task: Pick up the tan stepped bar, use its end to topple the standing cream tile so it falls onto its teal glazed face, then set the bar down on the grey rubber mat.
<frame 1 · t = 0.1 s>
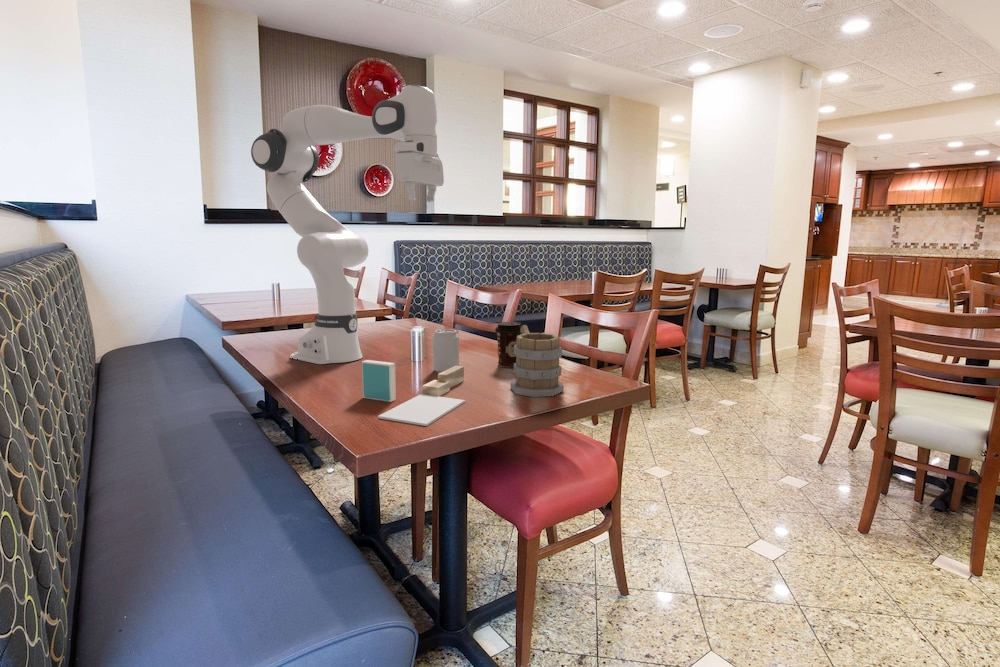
hand: (421, 200, 153), 48 cm above the table, fingers open, 8 cm apart
tile: (378, 380, 132), point 4 cm above the table
tankard: (533, 386, 145), on the table
coffee cup: (509, 366, 166), on the table
can: (446, 371, 159), on the table
tan stepped bar: (445, 387, 142), on the table
mat: (423, 409, 124), on the table
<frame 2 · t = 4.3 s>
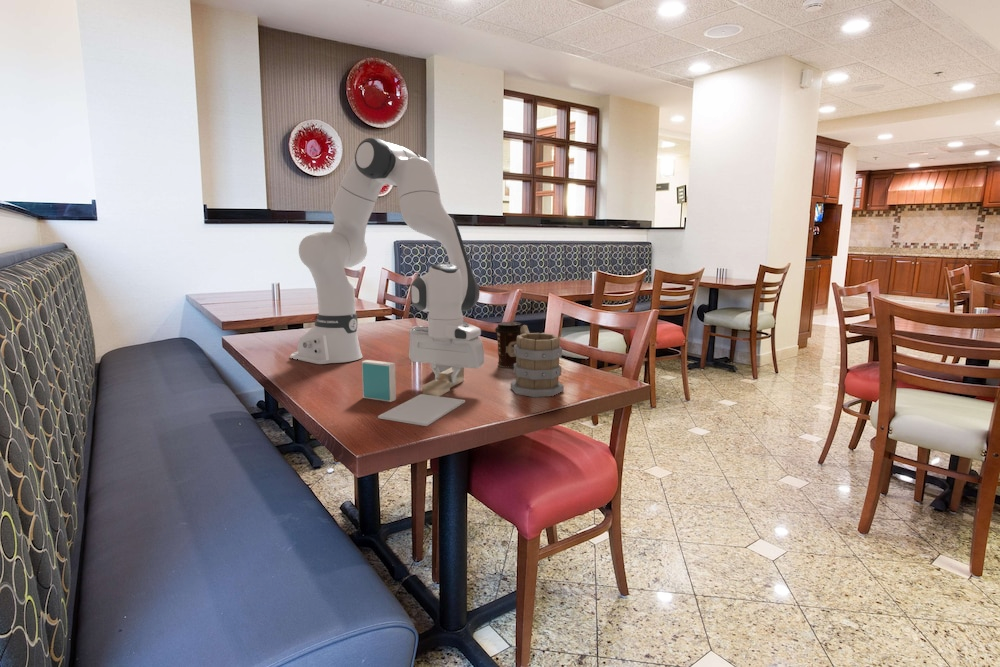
hand: (445, 381, 142), 2 cm above the table, fingers closed on tan stepped bar, 2 cm apart
tan stepped bar: (445, 387, 142), on the table, touching gripper
everything else where it was.
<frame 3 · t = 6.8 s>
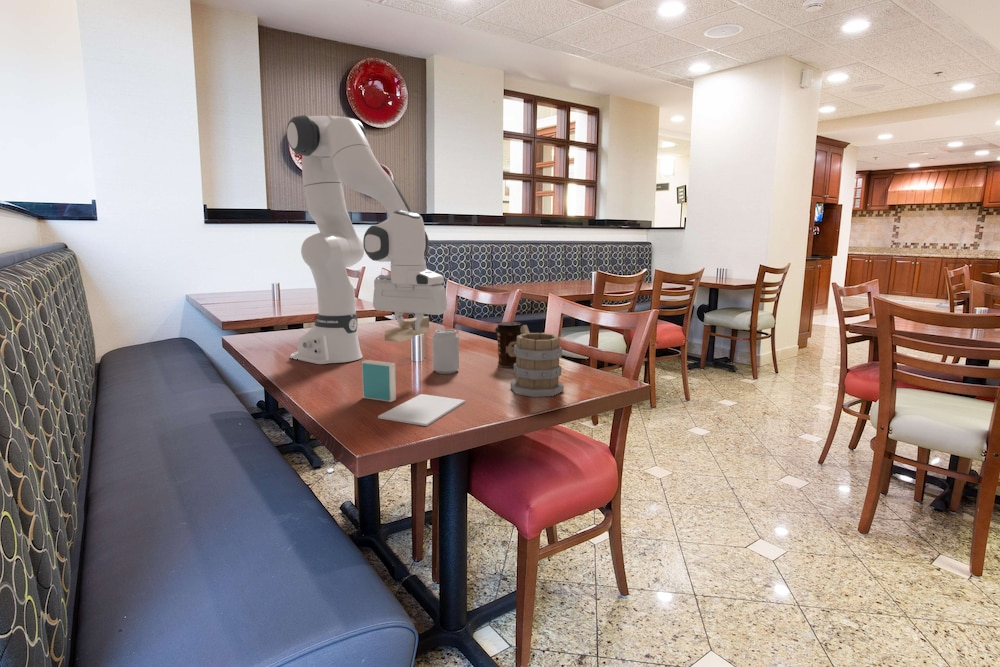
hand: (409, 329, 142), 15 cm above the table, fingers closed on tan stepped bar, 2 cm apart
tan stepped bar: (409, 335, 143), point 13 cm above the table, touching gripper
everything else where it was.
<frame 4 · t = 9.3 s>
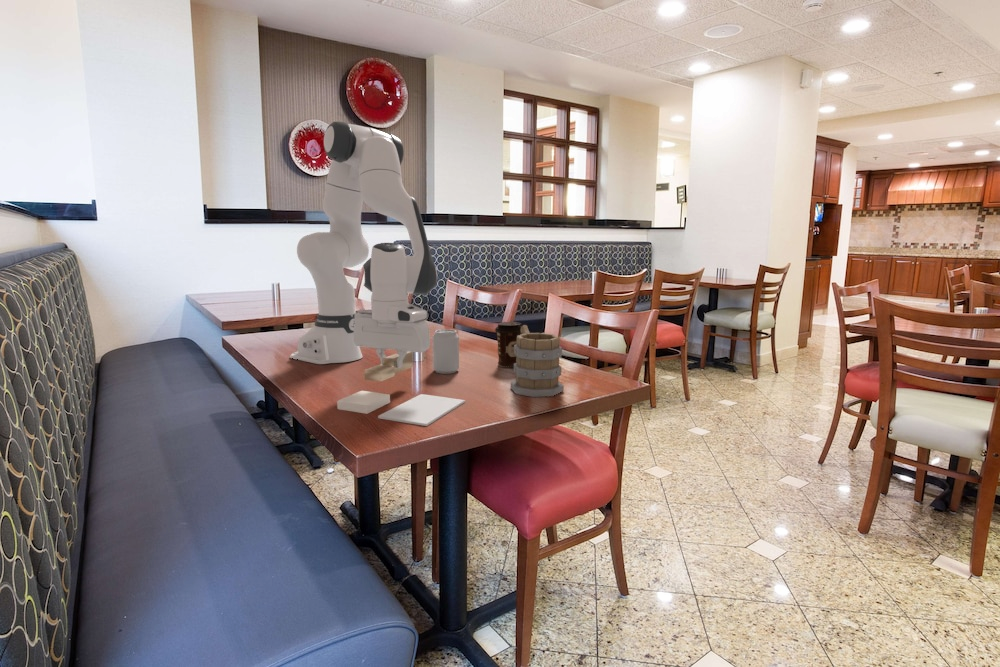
hand: (391, 366, 136), 7 cm above the table, fingers closed on tan stepped bar, 2 cm apart
tile: (364, 401, 127), point 1 cm above the table, tilted 90°
tan stepped bar: (391, 372, 136), point 5 cm above the table, touching gripper
everything else where it was.
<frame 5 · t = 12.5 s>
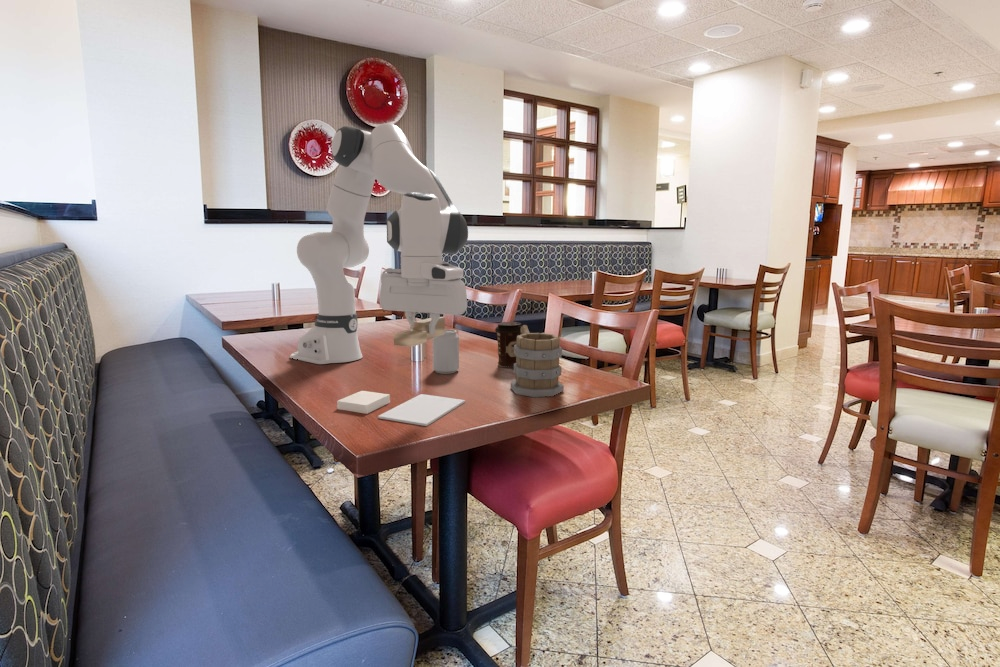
hand: (422, 332, 121), 18 cm above the table, fingers closed on tan stepped bar, 2 cm apart
tan stepped bar: (422, 339, 121), point 16 cm above the table, touching gripper
everything else where it was.
when the fingers open (3 cm above the table, at t = 15.2 s): tan stepped bar drops 1 cm, resting on mat.
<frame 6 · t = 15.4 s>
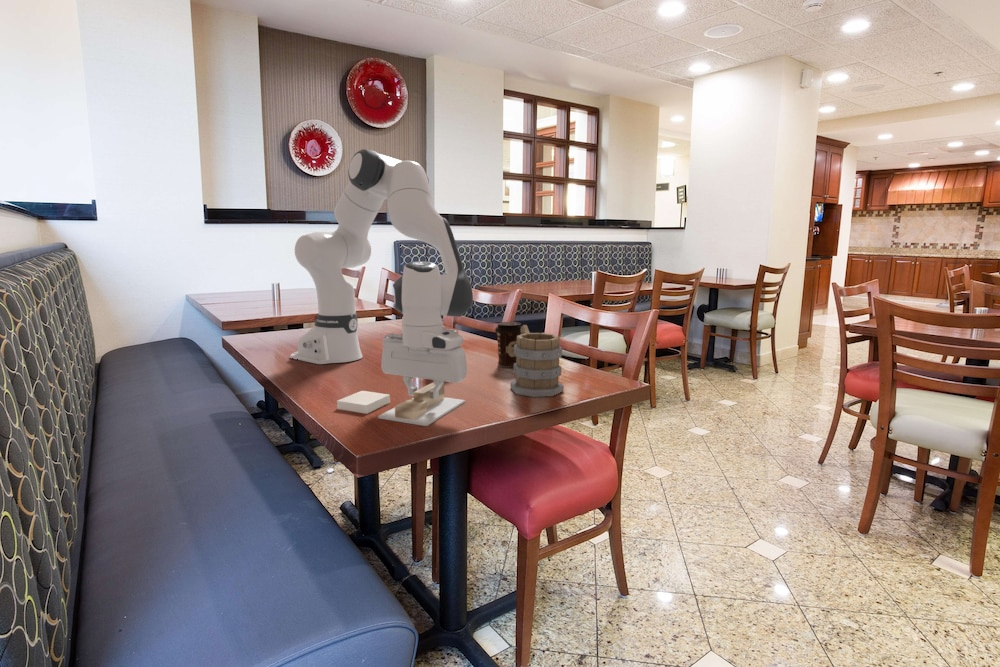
hand: (423, 396, 124), 3 cm above the table, fingers open, 4 cm apart
tan stepped bar: (423, 407, 124), resting on mat
everything else where it was.
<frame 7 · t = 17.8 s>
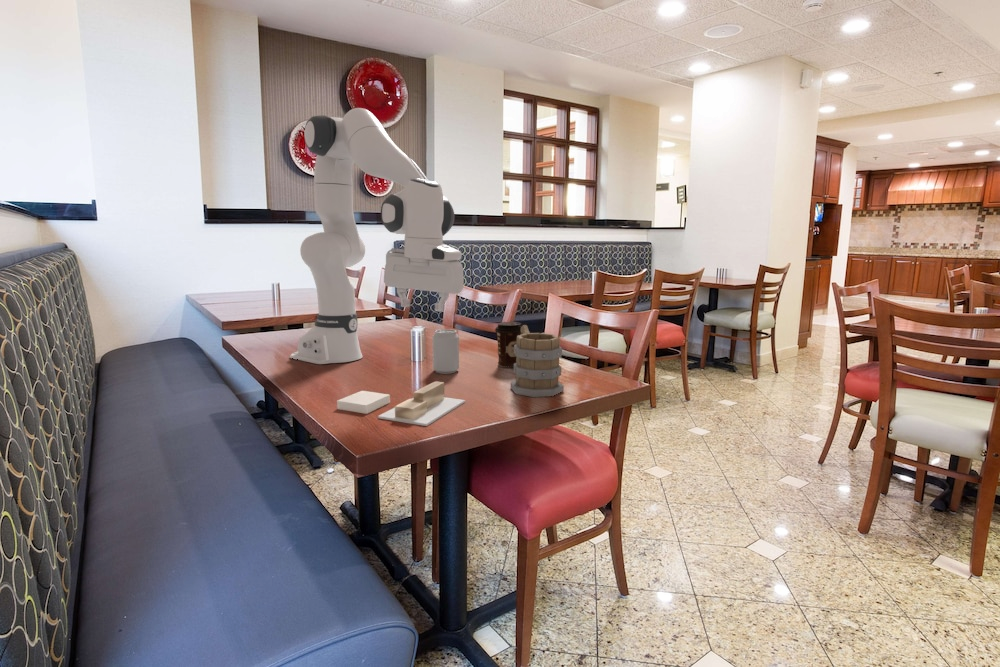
hand: (422, 308, 131), 21 cm above the table, fingers open, 8 cm apart
nothing on the table moved.
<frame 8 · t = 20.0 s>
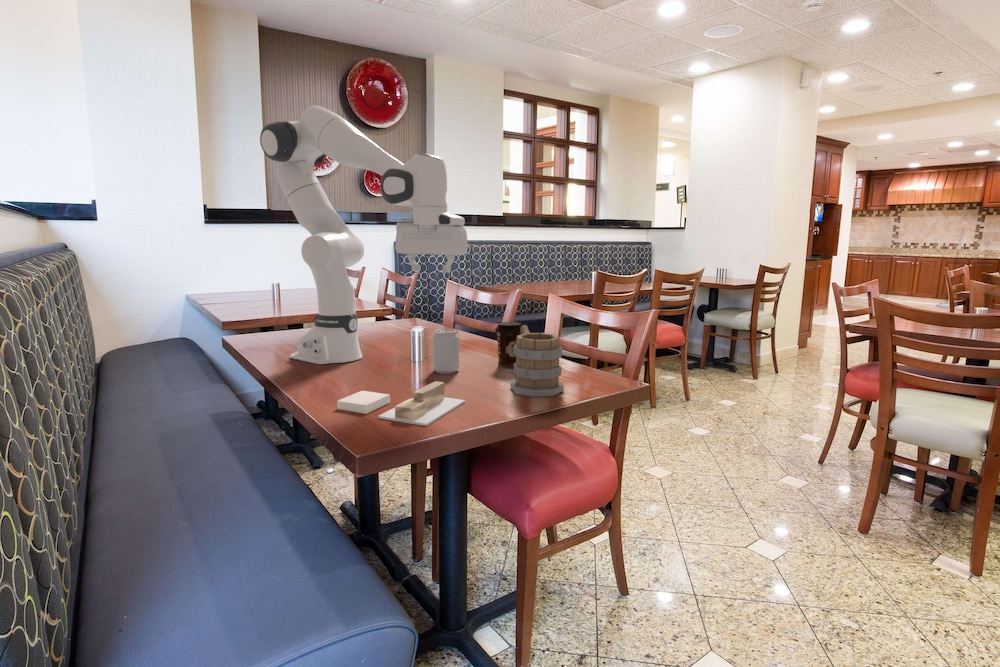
hand: (431, 271, 146), 29 cm above the table, fingers open, 8 cm apart
nothing on the table moved.
at the end: tile tilted 90°; tile inside the target area (0.5 cm from its centre), point 0.9 cm above the table; tan stepped bar inside the target area on the mat (0.1 cm from its centre), point 0.5 cm above the mat's base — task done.
